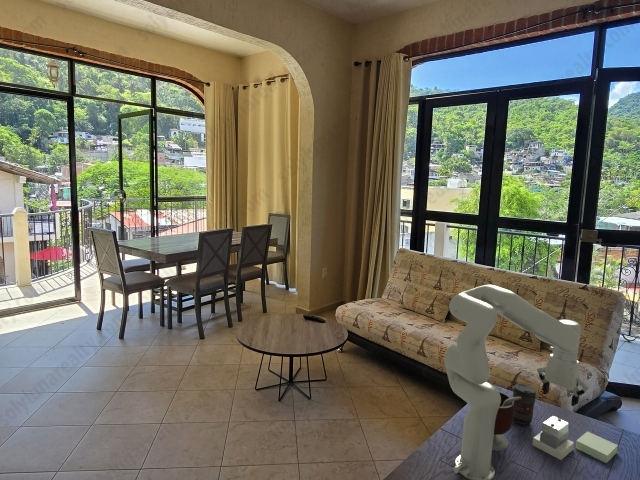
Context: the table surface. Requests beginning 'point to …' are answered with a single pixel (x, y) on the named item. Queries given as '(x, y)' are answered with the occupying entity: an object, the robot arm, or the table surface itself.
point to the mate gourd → (503, 421)
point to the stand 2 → (596, 446)
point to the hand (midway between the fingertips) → (559, 398)
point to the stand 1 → (558, 452)
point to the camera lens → (523, 404)
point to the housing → (554, 432)
